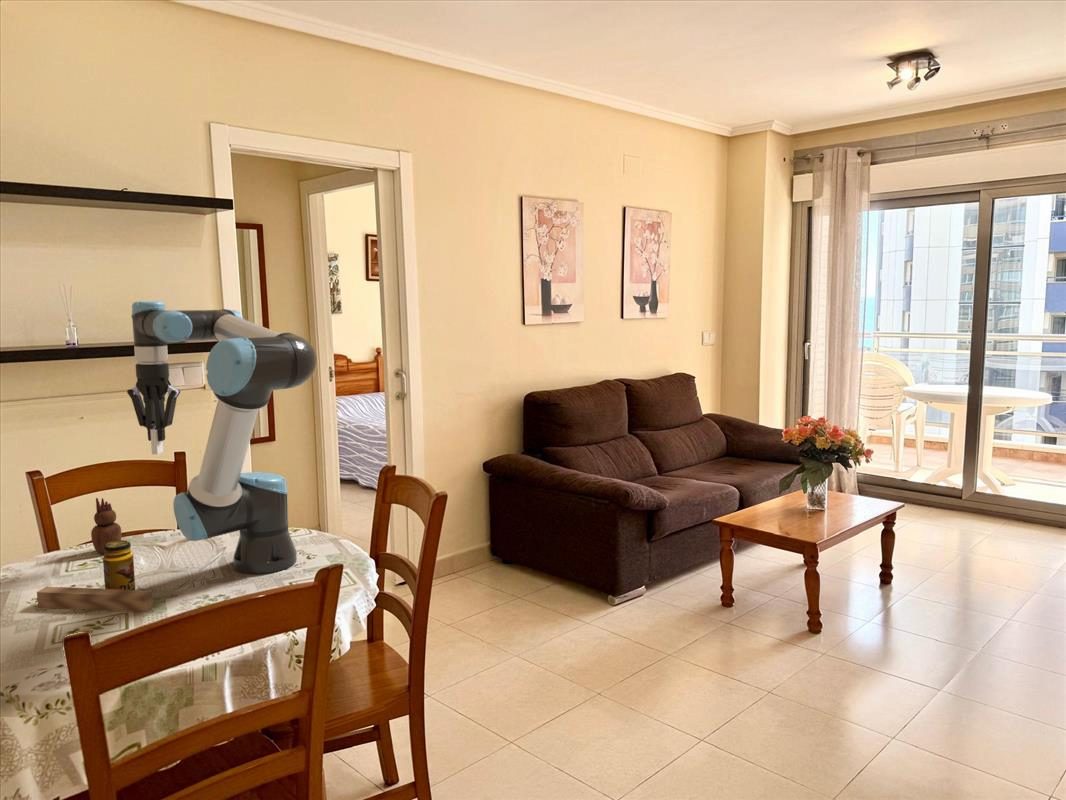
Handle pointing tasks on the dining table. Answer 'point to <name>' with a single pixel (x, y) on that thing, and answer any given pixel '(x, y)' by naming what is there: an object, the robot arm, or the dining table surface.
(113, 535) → the wooden figurine
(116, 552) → the condiment
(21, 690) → the dining table surface
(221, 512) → the robot arm
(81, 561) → the dining table surface
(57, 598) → the board
